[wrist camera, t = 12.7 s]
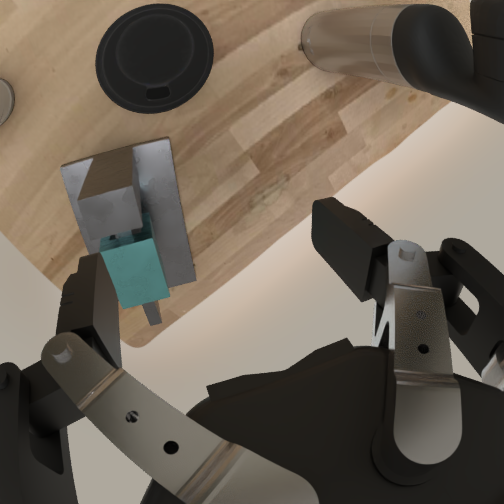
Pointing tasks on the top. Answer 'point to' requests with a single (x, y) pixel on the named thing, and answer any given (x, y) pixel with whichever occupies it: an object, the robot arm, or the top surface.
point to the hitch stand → (132, 204)
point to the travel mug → (5, 100)
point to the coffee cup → (154, 58)
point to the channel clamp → (135, 266)
